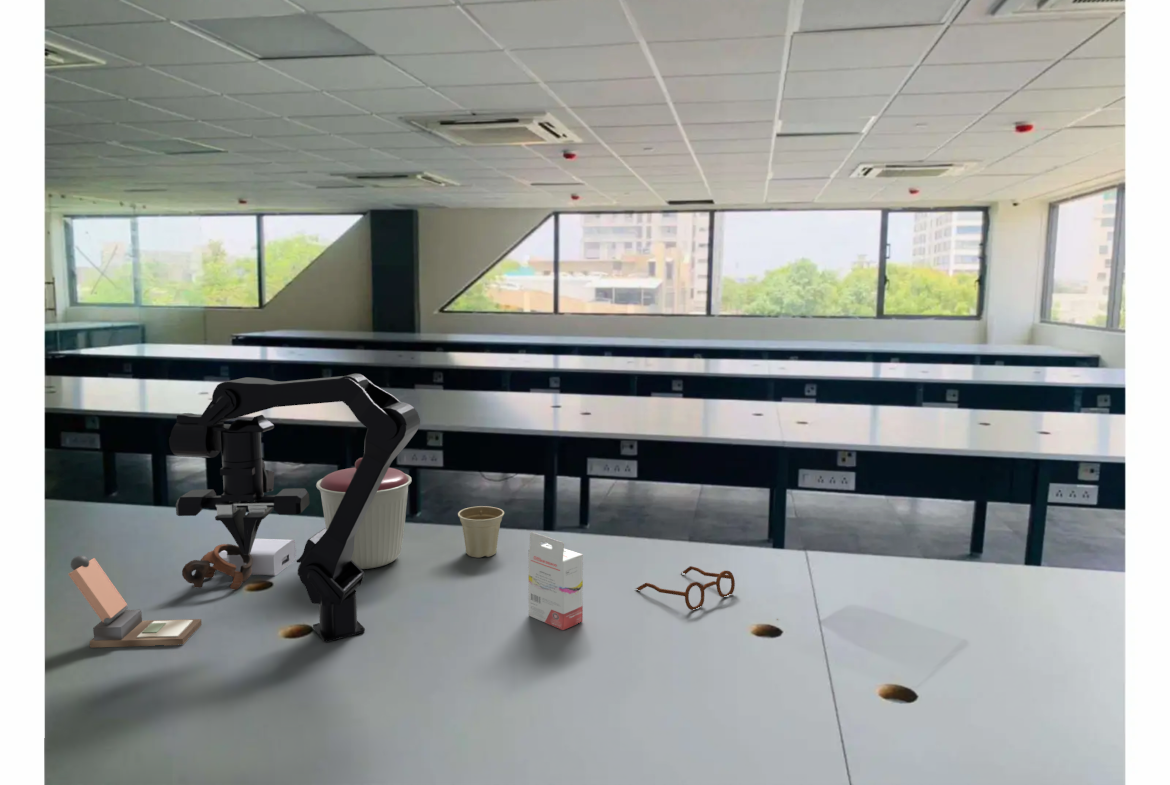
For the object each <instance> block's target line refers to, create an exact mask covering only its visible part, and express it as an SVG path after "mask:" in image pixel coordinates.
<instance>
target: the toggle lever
mask: <svg viewBox="0 0 1170 785" xmlns="http://www.w3.org/2000/svg"><path fill="white" fill-rule="evenodd" d="M70 561H71V562H70V568H71V570H72V571H71V572H68V573H67V574H68V576H69V577H70V579H71V580H72V582H73V583H74V584H75V586H76V587H77V590H79V591H80V593H81V594H82V595H83V597H84V599H86V600H85V601H87V602H88V604H89V605H90V606H91V608H92V609H93V611H94V612H95V614H96V615H97V616H98V618H99V619H100V622H101V621H102V622H104V623H105V624H110V623H111V622H112V621H113V620H114V619H116V618H117V617H118V616H119V615H120V614H122V613H123V612H124V611H125V610H128V608H129V607H128V603H127V602H126V601H125V599H124V598H123V596H122V594H121V593H120V592H119V591H118V589H117V588H116V586H115V585H114V584H113V582H112V581H111V580H110V578H109V576H108V575H107V573H106V572H105V571H104V569H103V568H102V567H101V565H100V564H99V562H98V561H97V559H96V557H94V558H92V559H89V558H88V557H87V556H85V555H77V556H74V557H73V558H72V559H71V560H70Z"/></svg>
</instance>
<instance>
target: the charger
mask: <svg viewBox="0 0 1170 785" xmlns="http://www.w3.org/2000/svg"><path fill="white" fill-rule="evenodd" d="M296 551H297V550H296V541H295V539H280V538H279V539H278V538H277V539H276V538H275V539H274V538H255V540H254V543H253V546H252V549H251V552H250V555H251V556H252V558H253V564H252V566H251V567H252V573H251V575H250V576H278V575H279V574H280V573H281V572H282V571H284V570H285V569H286V568H287V567H288V566H290V565H291V564H293V563H294V562H295V560H296V558H297V557H296V556H297V555H296V553H297V552H296ZM219 555H220V557H221V558H222V559H224V560H225V561H227V562H228V563H231V564H234V565H236V570H235V571H240V569H241V566H242V565H246V564H247V563H243V559H242V557H241V556H240V555H227V551H225V550H224V551H221V552H220V553H219Z"/></svg>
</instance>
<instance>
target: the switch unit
mask: <svg viewBox="0 0 1170 785" xmlns="http://www.w3.org/2000/svg"><path fill="white" fill-rule="evenodd" d="M202 623H203V622H202V618H193V619H191V618H190V619H186V618H185V619H156V620H155V619H154V620H152V619H151V620H149V619H148V620H143V616H142V609H126V610H125V611H124V612H123V613H122V614H120V615H119V616H118V617H117V618H116V619H114V620H113V621H112V622H111V623H110V624H105V623H104V622H102V621H101V620H100V621H99V623H97V624H96V625H95V626H93V629H92V631H93V638H92V639H91V640H89V648H123V647H127V648H128V647H151V646H152V647H156V646H155V645H164V646H181V645H180V644H183V645H185V643H186V642H187V641H188V640H189V639H190V638H191V637H192V636H193V635H194V634H195V633H196V632H197V630H199V628H200V627H201V626H202ZM195 631H196V632H195ZM194 632H195V633H194ZM193 633H194V634H193ZM192 634H193V635H192ZM191 635H192V636H191ZM190 636H191V637H190ZM189 637H190V638H189ZM188 638H189V639H188ZM178 644H179V645H178Z"/></svg>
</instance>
